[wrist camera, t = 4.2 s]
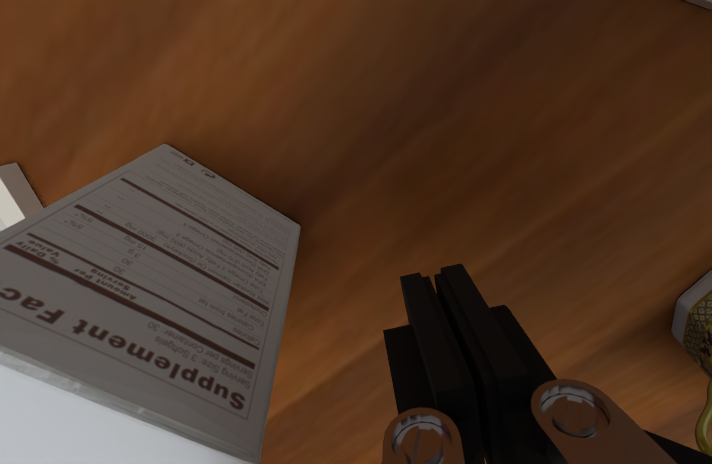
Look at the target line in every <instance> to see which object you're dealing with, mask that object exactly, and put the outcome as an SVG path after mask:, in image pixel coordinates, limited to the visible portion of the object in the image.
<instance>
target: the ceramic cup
mask: <svg viewBox="0 0 712 464" xmlns="http://www.w3.org/2000/svg"><path fill="white" fill-rule="evenodd" d="M671 332H672V333H673V336H674V338H675V339H676V340H677V341H678V342H679V343H680V344H681V345H682V346H683V348H684V349H685V350H686V351H687V353H688V354H689V355H690V356H691V357H692V358H693V359H694V360H695V361H696V363H697V364H698V365H699V366H700V367H701V368H702V370H703V371H704V372H705V373H706V374H707V376H708V377H709V378H710V379H711V380H710V382H709V384H708V388H707V402H706V405H705V408H704V409H703V411H702V413H701V415H700V417H699V419H698V421H697V424H696V428H695V438H696V443H697V445H698V448H699V450H700V452H702V453H704V454H707V455H709V456H712V447H711V445H710V443H709V442H708V440H707V432H708V429H709V426H710V424H711V422H712V270H710V271H709V272H708V273H707V274H706V275H705V276H703V277H702V278H701V279H700V280H699V281H698V282H697V283H695V284H694V285H693V286H692V287H691V288H690V289H688V290H687V291H686V292H685V293H684V294H683V295H681V296H680V297H679V298H678V299H677V302H676V307H675V313H674V318H673V323H672V329H671Z"/></svg>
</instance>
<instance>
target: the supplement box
mask: <svg viewBox="0 0 712 464" xmlns="http://www.w3.org/2000/svg"><path fill="white" fill-rule="evenodd" d="M300 229H301V227H300V225H298V224H297V223H295V222H293V221H292V220H290V219H289V218H287V217H286V216H284V215H282V214H281V213H279V212H278V211H276V210H274V209H273V208H271V207H269V206H268V205H266V204H265V203H263V202H261V201H260V200H258V199H256V198H255V197H253V196H251V195H250V194H248V193H246V192H245V191H244V190H242V189H240V188H238V187H237V186H235V185H234V184H232V183H230V182H229V181H227V180H225V179H224V178H222V177H220V176H219V175H217V174H216V173H214V172H212V171H211V170H209V169H208V168H206V167H204V166H202V165H201V164H199V163H198V162H196V161H194V160H193V159H191V158H189V157H188V156H186V155H184V154H183V153H181V152H180V151H178V150H176V149H174V148H173V147H171V146H169V145H167V144H162V145H160V146H159V147H157V148H155V149H153V150H152V151H150V152H148V153H146V154H144V155H142V156H140V157H139V158H137V159H135V160H134V161H132V162H130V163H128V164H126V165H124V166H122V167H120V168H119V169H117V170H115V171H113V172H111V173H109V174H107V175H105V176H104V177H102V178H100V179H98V180H96V181H94V182H92V183H91V184H89V185H87V186H85V187H83V188H81V189H79V190H77V191H75V192H74V193H72V194H70V195H68V196H66V197H64V198H62V199H61V200H59V201H57V202H55V203H53V204H51V205H49V206H47V207H45V208H43V209H41V210H40V211H38V212H36V213H34V214H32V215H30V216H28V217H26V218H25V219H23V220H21V221H19V222H17V223H15V224H14V225H12V226H10V227H8V228H6V229H4V230H2V231H0V464H259V463H260V456H261V449H262V443H263V438H264V432H265V426H266V420H267V415H268V411H269V406H270V398H271V392H272V388H273V382H274V376H275V370H276V364H277V359H278V354H279V349H280V343H281V338H282V333H283V327H284V322H285V317H286V311H287V305H288V299H289V294H290V288H291V282H292V277H293V271H294V265H295V260H296V253H297V248H298V241H299V235H300Z"/></svg>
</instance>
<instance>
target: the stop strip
mask: <svg viewBox="0 0 712 464" xmlns="http://www.w3.org/2000/svg"><path fill="white" fill-rule="evenodd" d="M41 209H43V206H42V205H41V203H40V201H39V200H38V198H37V196H36V194H35V193H34V191H33V189H32V188H31V186H30V184H29V183H28V181H27V179H26V178H25V176H24V174H23V173H22V171H21V169H20V168H19V166H18V164H17V163H11V164H7V165H3V166H0V218H1V219H2V221H3V222H4V224H5V225H6V227H7V228H8V227H10V226H12V225H14V224H15V223H17V222H19V221H21V220H23V219H25V218H26V217H28V216H30V215H32V214H34V213H36V212H38V211H40V210H41Z"/></svg>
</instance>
